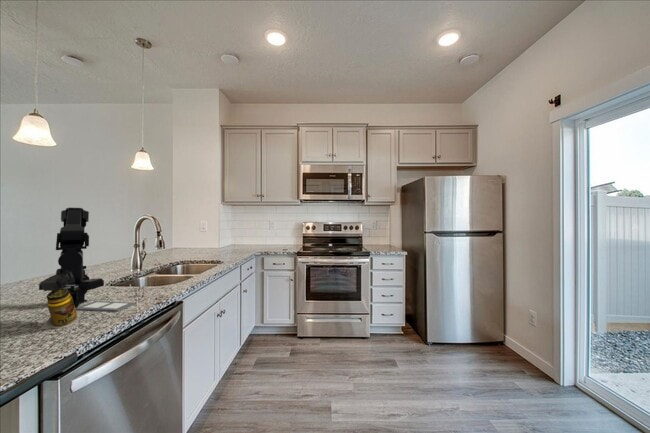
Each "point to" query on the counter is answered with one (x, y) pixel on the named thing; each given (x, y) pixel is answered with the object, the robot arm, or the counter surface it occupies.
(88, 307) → the mat
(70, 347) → the counter surface
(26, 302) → the counter surface
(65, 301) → the condiment
